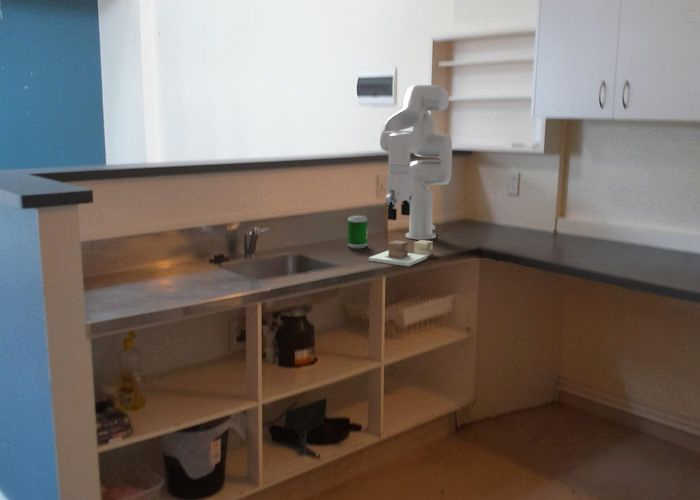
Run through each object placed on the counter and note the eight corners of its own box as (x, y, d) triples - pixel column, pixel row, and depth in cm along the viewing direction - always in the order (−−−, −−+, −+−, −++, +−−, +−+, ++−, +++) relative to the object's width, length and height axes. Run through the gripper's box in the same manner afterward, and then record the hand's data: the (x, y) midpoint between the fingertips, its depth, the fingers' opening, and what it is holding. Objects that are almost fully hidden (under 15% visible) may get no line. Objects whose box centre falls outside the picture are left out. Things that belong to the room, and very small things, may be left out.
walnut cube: (395, 253, 257) (395, 240, 256) (407, 255, 255) (407, 241, 254) (388, 256, 253) (388, 242, 252) (400, 258, 251) (401, 244, 250)
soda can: (365, 249, 272) (365, 218, 269) (346, 248, 273) (345, 217, 271) (368, 245, 279) (368, 215, 276) (349, 244, 280) (349, 214, 278)
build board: (388, 253, 264) (388, 249, 264) (426, 258, 256) (427, 255, 255) (368, 260, 253) (368, 257, 252) (408, 266, 244) (408, 262, 244)
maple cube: (420, 253, 265) (420, 239, 264) (432, 254, 263) (432, 241, 262) (414, 255, 261) (414, 242, 260) (426, 257, 259) (426, 243, 258)
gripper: (401, 165, 256) (401, 212, 261) (377, 171, 242) (377, 220, 246) (420, 167, 253) (419, 214, 257) (396, 172, 238) (396, 222, 242)
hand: (398, 217), depth 252 cm, fingers open, 9 cm apart
